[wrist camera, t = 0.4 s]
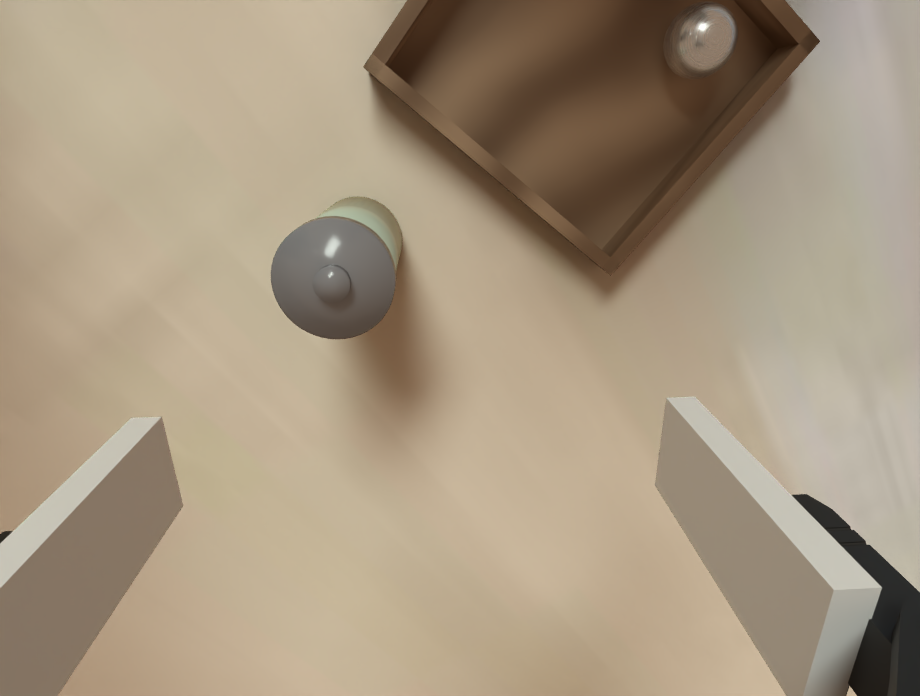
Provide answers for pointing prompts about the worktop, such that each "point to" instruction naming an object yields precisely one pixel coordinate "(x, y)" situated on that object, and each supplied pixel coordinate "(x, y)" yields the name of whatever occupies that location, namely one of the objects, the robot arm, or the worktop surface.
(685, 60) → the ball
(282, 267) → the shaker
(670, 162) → the tray
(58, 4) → the worktop surface
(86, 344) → the worktop surface
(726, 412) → the worktop surface
